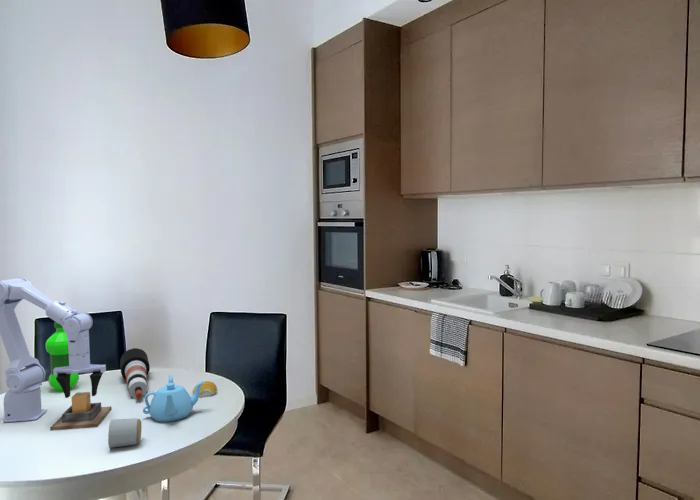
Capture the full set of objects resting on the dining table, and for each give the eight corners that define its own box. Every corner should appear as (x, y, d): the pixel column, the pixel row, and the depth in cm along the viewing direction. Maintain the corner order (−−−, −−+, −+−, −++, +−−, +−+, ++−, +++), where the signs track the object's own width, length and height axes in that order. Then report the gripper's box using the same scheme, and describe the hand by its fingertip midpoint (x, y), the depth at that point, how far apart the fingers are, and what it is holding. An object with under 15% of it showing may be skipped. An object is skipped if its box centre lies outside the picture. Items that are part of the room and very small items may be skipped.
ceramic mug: (140, 448, 136) (139, 421, 135) (108, 452, 133) (107, 425, 133) (143, 433, 145) (142, 408, 145) (113, 437, 143) (112, 412, 142)
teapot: (136, 419, 155) (134, 387, 154) (173, 403, 168) (172, 373, 168) (170, 428, 148) (168, 394, 148) (206, 410, 162) (205, 379, 161)
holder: (50, 430, 148) (49, 418, 148) (68, 412, 162) (68, 401, 161) (97, 426, 150) (96, 415, 150) (111, 409, 164) (111, 398, 163)
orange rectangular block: (72, 419, 153) (71, 397, 153) (77, 414, 157) (76, 392, 157) (86, 418, 154) (85, 396, 153) (91, 413, 158) (90, 391, 157)
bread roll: (217, 388, 183) (216, 377, 183) (216, 396, 175) (215, 385, 174) (193, 390, 181) (193, 379, 181) (191, 399, 173) (191, 387, 172)
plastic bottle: (50, 386, 187) (46, 320, 185) (81, 382, 191) (78, 318, 189) (45, 395, 178) (41, 326, 176) (79, 391, 182) (75, 323, 180)
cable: (132, 416, 169) (116, 393, 166) (128, 377, 200) (115, 357, 196) (160, 398, 172) (145, 376, 169) (152, 363, 203) (139, 343, 199)
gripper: (48, 357, 149) (50, 402, 150) (100, 355, 152) (101, 398, 152) (57, 351, 156) (59, 394, 157) (107, 349, 159) (109, 391, 159)
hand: (81, 395), depth 155 cm, fingers open, 7 cm apart
